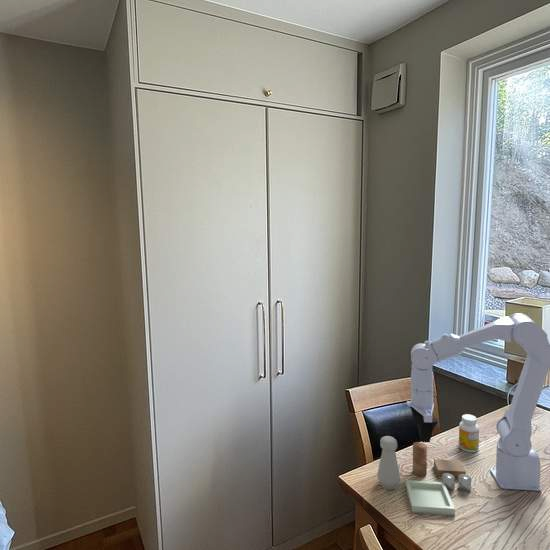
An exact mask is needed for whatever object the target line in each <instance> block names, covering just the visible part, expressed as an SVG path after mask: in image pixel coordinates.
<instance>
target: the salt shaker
mask: <svg viewBox="0 0 550 550" xmlns="http://www.w3.org/2000/svg"><path fill="white" fill-rule="evenodd" d="M379 441H380V442H379V443H380V444H379V445H380V446H379V447H380V448H381V454H380V455H381V456H380V460H379V463H378V464H379V465H378V469H377V474H376V475H377V480H378V483H379V484H380V486H381V487H382V488H383V489H385V490H390V491H393V490H395V489H396V488H397V487H398V486H399V484H400V482H401V475H400V470H399V466H398V460H397V459H398V458H397V454H396V450H397V449H398V441H397V439H395V437H393V436H390V435H385V436H382V437H381V438H380V440H379Z"/></svg>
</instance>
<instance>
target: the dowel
mask: <svg viewBox="0 0 550 550" xmlns="http://www.w3.org/2000/svg"><path fill="white" fill-rule="evenodd" d="M427 458H428V446H427V445H426V444H425V442H420V441H415V442H413V443H412V474H413V475H414V476H416V477H417V478H418V477H419V478H424V477H426V476H427V470H428V469H427V465H428V459H427Z"/></svg>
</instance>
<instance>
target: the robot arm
mask: <svg viewBox="0 0 550 550" xmlns="http://www.w3.org/2000/svg"><path fill="white" fill-rule="evenodd" d="M512 339H513V340H514V341H515V342H516V343H517V345H519V346H520V347H522V349H524V351H525V352H526V353H527V355H526V358H525V361H524V363H523V366H522V367H523V368H522V370H521V373H520V376H519V378H518V382H517V385H516V388H515V391H514V394H513V397H512V399H511V402H510V405H509V408H508V409H506V410H505V411H504V414H503V415H502V417H501V418H499V420H497V422H496V426H495V427H496V432H497V433H498V434H499V438H498V441H497V443H496V454H495V455H496V461H495V464H496V465H495V468H494V467H490V468H489V471H490V473H491V475H492V476H493V478H494V479H495V481H496V483H497V484H498V485H499V487H500V488H501V489H505V490H506V489H507V490H522V491H536V492H537V491H539V492H541V491H542V488H541V487H540V486H541V485H540V484H541V458H540V456H539V454H538V452H537V450H536V449H534V448H532V446H533V445H532V441H531V439H532V437H531V436H532V433H533V432H532V431H533V429H532V428H533V427H532V420H533V416H534V413H535V410H536V407H537V405H538V403H539V399H540V396H541V393H542V391H543V389H544V388H543V387H544V385H545V381H546V380H547V379H546V378H547V376H548V373H549V371H550V342H549V339H548V334H547V332H546V331H545V330H544V329H543V328H542V327H541V326H540V325H539V324H537V323H536V322H534V320H533V319H532V318H531V317H530V316H529V315H527V314H525V313H521V312H519V313H517V312H516V313H513V314H511V315H510V316H502V317H501V318H498V319H496V320H494V321H492V322H490V323H487V324H485V325H482V326H480V327H477V328H474V329H473V330H470V331H468V332H466V333H462V334H460V335H456V334H454V333H450V334H447V333H446V332H445V333H443V334H441V337H439V338H435V339H432V340H430V341H429V340H425V341H424V343H416V344H415V345H413V347H412V348H411V351H410V361H411V371H410V387H411V388H410V389H411V391H410V400H407V401H406V405H407V407H410V410H411V414H412V418H413V423H414V426H415V427H414V428H416V429H418V432H419V433H418V434H419V439H420V441H421V443H430V442H431V438H432V435H433V432H434V429H435V428H436V426H437V425H438V424H439V423H438V422H439V421H438V419H437V418H436V417H433V412H434V407H435V404H434V371H433V366H434V364H435V363H439V362H442V361H445V360H448V359H451V358H454V357H457V356H460V355H462V353H463V351H464V349H466V348H468V347H472V346H475V345H479V344H482V343H486V342H490V341H492V340H500V341H504V342H507V343H512Z"/></svg>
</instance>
